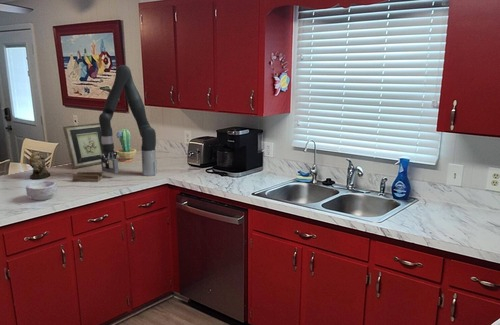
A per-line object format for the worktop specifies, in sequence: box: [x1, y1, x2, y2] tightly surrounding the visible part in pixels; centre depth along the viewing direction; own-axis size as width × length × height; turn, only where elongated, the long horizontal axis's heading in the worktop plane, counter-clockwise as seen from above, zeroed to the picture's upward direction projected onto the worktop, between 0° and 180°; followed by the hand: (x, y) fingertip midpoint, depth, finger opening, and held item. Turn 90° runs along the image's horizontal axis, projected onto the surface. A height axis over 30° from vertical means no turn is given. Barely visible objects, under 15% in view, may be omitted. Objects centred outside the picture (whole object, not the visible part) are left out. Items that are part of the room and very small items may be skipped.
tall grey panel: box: [100, 158, 119, 174], centre depth 275 cm, size 3×12×9 cm, turn 62°
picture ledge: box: [72, 171, 104, 183], centre depth 268 cm, size 10×16×4 cm, turn 93°
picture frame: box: [62, 122, 103, 169], centre depth 307 cm, size 33×10×30 cm, turn 143°
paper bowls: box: [25, 180, 58, 201], centre depth 229 cm, size 15×15×8 cm
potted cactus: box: [116, 128, 137, 163], centre depth 323 cm, size 15×15×25 cm
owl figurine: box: [28, 151, 51, 180], centre depth 273 cm, size 18×12×17 cm, turn 17°
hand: (109, 167), depth 275 cm, fingers closed on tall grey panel, 3 cm apart
